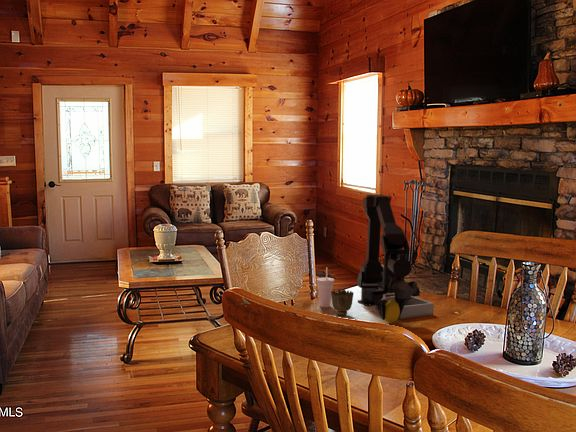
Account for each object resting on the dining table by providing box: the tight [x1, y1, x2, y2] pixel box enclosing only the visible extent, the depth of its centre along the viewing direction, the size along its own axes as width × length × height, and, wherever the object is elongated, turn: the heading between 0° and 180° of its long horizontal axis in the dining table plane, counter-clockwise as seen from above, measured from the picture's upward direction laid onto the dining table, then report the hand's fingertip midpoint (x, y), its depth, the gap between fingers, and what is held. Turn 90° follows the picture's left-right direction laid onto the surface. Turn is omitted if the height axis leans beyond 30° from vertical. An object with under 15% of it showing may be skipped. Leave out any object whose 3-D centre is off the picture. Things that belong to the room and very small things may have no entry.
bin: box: [375, 295, 435, 320], centre depth 212 cm, size 14×14×4 cm
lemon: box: [384, 299, 400, 325], centre depth 197 cm, size 6×6×8 cm
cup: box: [331, 289, 354, 317], centre depth 206 cm, size 8×7×8 cm
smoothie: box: [316, 267, 335, 308], centre depth 218 cm, size 6×6×14 cm
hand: (390, 318), depth 197 cm, fingers closed on lemon, 5 cm apart
